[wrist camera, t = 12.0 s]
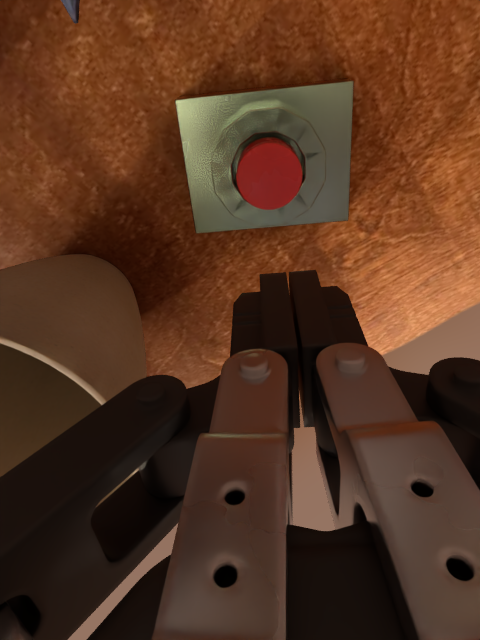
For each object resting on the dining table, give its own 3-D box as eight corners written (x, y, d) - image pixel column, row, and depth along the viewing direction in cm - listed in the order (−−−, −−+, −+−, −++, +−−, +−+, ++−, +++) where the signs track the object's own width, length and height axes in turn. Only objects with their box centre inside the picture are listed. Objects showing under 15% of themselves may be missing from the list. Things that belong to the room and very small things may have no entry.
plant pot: (222, 297, 34) (204, 464, 20) (108, 395, 40) (35, 576, 26) (59, 152, 28) (-115, 250, 15) (-46, 291, 34) (-241, 452, 21)
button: (240, 203, 26) (239, 212, 25) (234, 139, 24) (233, 146, 23) (300, 198, 26) (303, 207, 24) (298, 133, 24) (302, 139, 23)
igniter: (199, 222, 31) (192, 244, 27) (179, 95, 26) (169, 103, 23) (342, 209, 30) (354, 230, 27) (346, 77, 26) (360, 82, 22)
